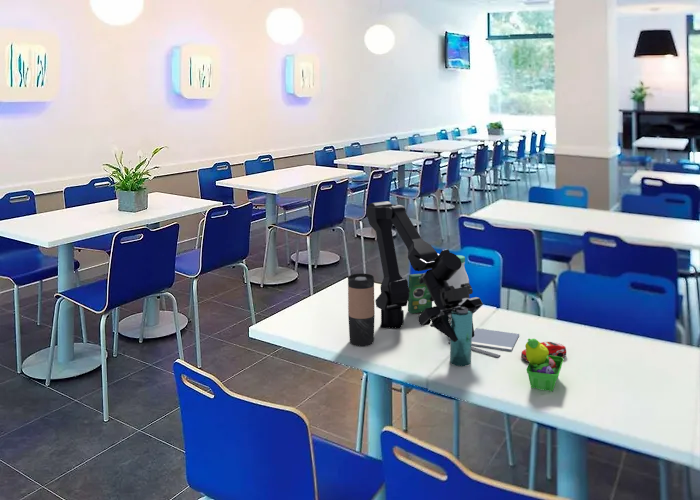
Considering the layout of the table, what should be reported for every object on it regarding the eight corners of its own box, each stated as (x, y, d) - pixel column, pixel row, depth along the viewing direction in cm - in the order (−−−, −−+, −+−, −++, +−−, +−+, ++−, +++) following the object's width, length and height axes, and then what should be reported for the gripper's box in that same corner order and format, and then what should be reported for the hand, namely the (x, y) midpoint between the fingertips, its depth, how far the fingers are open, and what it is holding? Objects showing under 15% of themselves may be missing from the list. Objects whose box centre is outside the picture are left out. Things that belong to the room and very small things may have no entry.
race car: (528, 365, 164) (529, 351, 163) (516, 358, 169) (517, 344, 168) (569, 358, 168) (570, 344, 167) (556, 350, 173) (557, 337, 172)
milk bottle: (468, 320, 197) (470, 260, 193) (443, 318, 199) (445, 259, 194) (468, 312, 205) (470, 254, 200) (445, 310, 206) (446, 253, 202)
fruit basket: (557, 395, 147) (560, 351, 144) (519, 388, 151) (522, 345, 148) (562, 375, 157) (565, 334, 154) (527, 370, 161) (529, 329, 158)
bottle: (449, 365, 164) (451, 311, 160) (450, 357, 169) (451, 305, 166) (471, 367, 163) (472, 312, 159) (470, 358, 168) (472, 305, 165)
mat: (465, 344, 178) (465, 342, 178) (476, 329, 189) (476, 327, 189) (511, 351, 173) (511, 349, 173) (519, 335, 184) (519, 333, 184)
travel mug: (378, 339, 183) (378, 274, 178) (368, 348, 176) (367, 281, 171) (355, 335, 186) (354, 272, 181) (344, 344, 179) (343, 279, 174)
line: (448, 343, 179) (448, 342, 179) (451, 341, 180) (451, 340, 180) (497, 357, 168) (497, 356, 168) (500, 356, 170) (500, 355, 169)
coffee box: (429, 308, 209) (430, 271, 205) (433, 311, 206) (433, 274, 203) (407, 311, 206) (407, 274, 203) (410, 314, 204) (411, 276, 200)
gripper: (425, 279, 159) (451, 332, 153) (479, 268, 168) (506, 318, 162) (407, 300, 168) (431, 351, 161) (460, 289, 177) (485, 337, 170)
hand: (464, 339), depth 163 cm, fingers closed on bottle, 6 cm apart
